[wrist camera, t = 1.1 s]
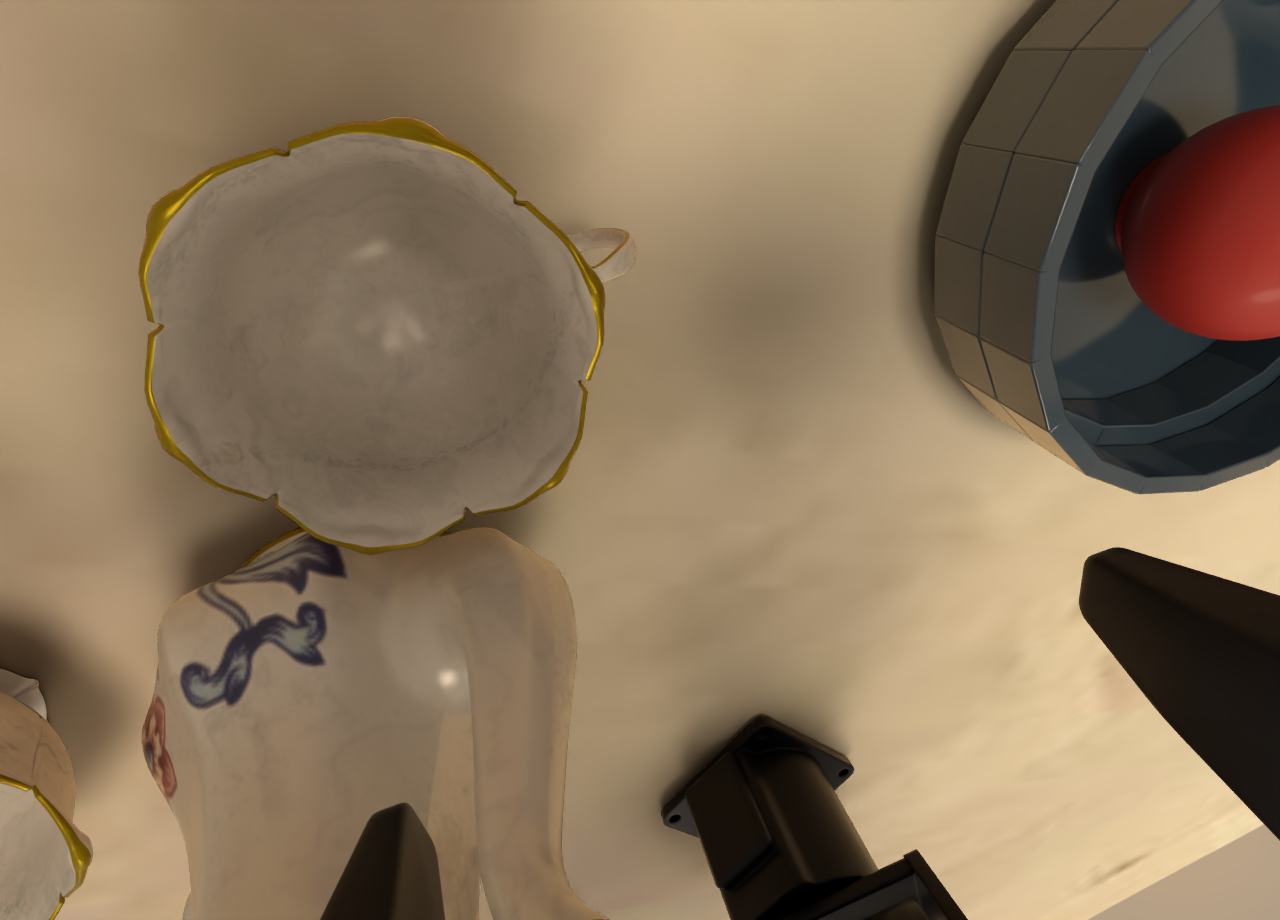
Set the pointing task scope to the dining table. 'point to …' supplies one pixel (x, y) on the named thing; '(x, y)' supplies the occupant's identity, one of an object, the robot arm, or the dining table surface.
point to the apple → (1209, 230)
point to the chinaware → (352, 532)
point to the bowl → (1103, 244)
